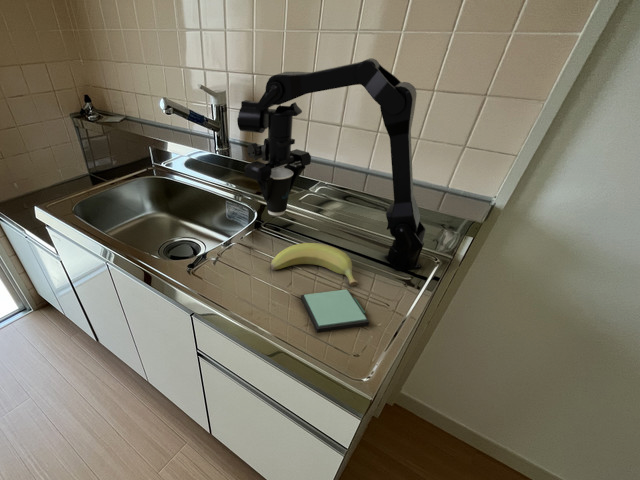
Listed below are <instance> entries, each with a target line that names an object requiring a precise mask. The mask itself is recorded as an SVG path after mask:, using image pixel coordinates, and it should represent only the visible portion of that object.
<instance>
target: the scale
mask: <svg viewBox="0 0 640 480" xmlns="http://www.w3.org/2000/svg"><path fill="white" fill-rule="evenodd" d="M300 301H301V302H302V305H303V307H304V309H305V311H306V313H307V316H308V317H309V319H310V322H311V324H312V325H313V328H314V330H315V332H316V334H321V333H328V332H334V331H335V332H336V331H342V330H350V329H355V328H356V329H357V328H364V327H369V326H370V320H369V318H368V317H367V316H366V311H365V310H364V309H363V307H362V305H361V304H360V303H359V301H358V300H357V298H356V297H354V296H353V294H352V293H351V291H350V290H349V289H348V288H346V289H339V290H329V291H323V292H322V291H321V292H315V293H314V292H313V293H307V294H301V295H300Z"/></svg>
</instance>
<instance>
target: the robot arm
mask: <svg viewBox="0 0 640 480" xmlns="http://www.w3.org/2000/svg"><path fill="white" fill-rule="evenodd" d="M357 85H361V86H362V87H363V88H364V89H365V90H366V92H367V93H368V95H370V97H371V99H373V100H374V101H375V103H377V104H378V106H379V108H380V113H381V118H382V121H383V125H384V127H385V130H386V132H387V135H388V137H389V146H390V160H391V161H390V162H391V175H392V190H393V203H389V205H388V208H387V210H386V213H385V217H386V221H387V227H386V230H387V231H388V230H389V233H390V235H391V237H393V238H394V239H393V241H392V244H391V245H390V247H389V249H388V253H387V255H384V259H385V260H386V261H387V262H388V263H389V264H390V265H391V267H392V268H393V269H394V270H395V271H399V272H400V271H405V270H415V269H420V268H421V264H420V263H419V258H420V256H421V254H422V250H423V248H424V245H425V242H424V239H425V236H426V232H427V231H426V230H427V228H426V227H425V226H424V224H423V223H422V221H421V213H420V210H419V206H418V203H417V200H416V198H415V194H414V180H413V179H414V176H413V154H412V153H413V152H412V127H413V122H414V121H413V120H414V115H415V111H416V103H417V94H418V93H417V89H416V87H415V86H414V85H413V84H412V83H410V82H408V81H400V80H399V78H398V77H396V76H395V75H394V74H392V73H391V72H390V71H389V70H387V68H384V67H383V65H381V64H380V62H379V61H378V60H377V59H376V58H374V57H373V58H366V59H365V60H362V61H359V62H353V63H349V64H343V65H340V66H339V65H338V66H335V67H329V68H325V69H321V70H315V71H309V72H308V71H307V72H306V71H283V72H280V73H276V74H274V75H272V76H270V77H269V78H268V80H267V82H266V84H265V91H264V93H263V94H262V96H261V98H260V99H259V101H253V100H249V99H245V100H242V101H241V102H240V103H241V105H240V108H239V111H238V115H237V118H236V120H237V121H236V122H237V127H238V130H239V131H240V132H245V133H246V132H247V133H256V134H257V133H258V134H264V132H265V131H266V130H267V133H268V134H267V138H264V140H263V144H262V145H258V143H257V142H255V143H251V144H248V145H247V156H248V158H249V159H252V158H253V161H252V162H250V163H246V165H245V166H244V176H245V177H246V178H250V179H252V180H255V181H256V182H257V184H258V186H259V188H260V189H259V190H260V192H261V194H262V197H263V200H264V201H265V202H266V201H268V200H269V196H270V192H271V187H272V182H273V178H272V177H270V176H271V170H274V169H277V168H286V169H290V170H291V171H293V176H292V179H291V185H290V191H289V194H290V193H291V191H292V190H293V188H294V186H295V184H296V182H297V181H298V179H299V178H300V176H301V174H302V173H303V171H304V170H305V169H306V168H307V167H306V166H309V165H311V162H312V155H311V153H310V152H308V151H305V150H302V149H298V148H296V149H292V145H295V144H296V139H295V138H292V137H293V120H294V119H293V118H294V117H297V116H299V115H301V114H302V113H303V109H301V108H300V107H299V106H298V104H297V102H296V101H295V102H292V103H290V105H282V104H285V103H287V102H290V101H292V100H294V99H297V98H300V97H303V96H305V95H307V94H313V93H319V92H324V91H328V90H335V89H341V88H345V87H350V86H357ZM274 106H277V107H276V108H272V107H274ZM259 159H260V160H262V161H263V162H261V161H259ZM264 162H267V163H264Z"/></svg>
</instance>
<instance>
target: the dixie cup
mask: <svg viewBox="0 0 640 480" xmlns="http://www.w3.org/2000/svg"><path fill="white" fill-rule="evenodd" d="M292 176H293V171H291V170H290V169H286V168H284V167H281V168H277V169H274V170H271V176H270V177H272V178H273V182H272V187H271V192H270V196H269V200H268V201H265V203H266V210H267V213H268V214H269V215H270V216H275V217H276V216H278V217H279V216H283V215H285V214H286V210H287V208H288V201H289V197H290V196H289V195H290V193H289V191H290V185H291V179H292ZM290 192H291V191H290Z"/></svg>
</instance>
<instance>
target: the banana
mask: <svg viewBox="0 0 640 480" xmlns="http://www.w3.org/2000/svg"><path fill="white" fill-rule="evenodd" d="M297 265H314V266H315V265H316V266H319V267H323V268H326V269H328V270H330V271H331V272H334V273H336V274H340V275H345V276H346V277H347V279H348V282H349V286H351V287H355V286H357V285H358V281H357V280H356V279H355V278H354V276H353V271H352V270H353V263H352V259H351V258H350V256H348V254H347V253H345V252H344V251H342V250H340V249H338V248H336V247H334V246H331V245H327V244H323V243H317V242H303V243H297V244H294V245H293V244H292V245H290V246H287V247H286V248H284V249H283V250H281V251H280V252H279V253H277V254H276V255H275V256H274V257H273V258H272V260H271V263H270V268H271V269H272V270H274V271H275V270H281V269H284V268H287V267H291V266H297Z"/></svg>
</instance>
